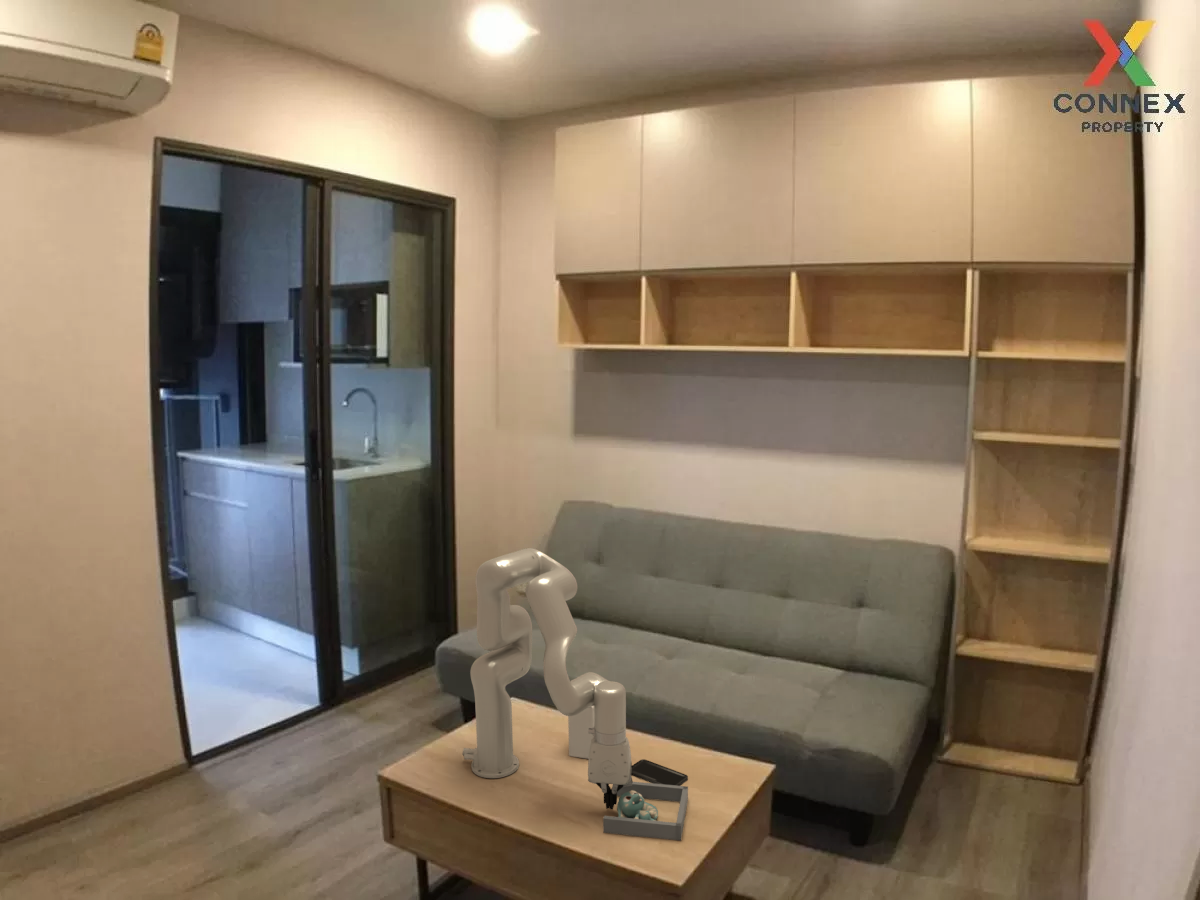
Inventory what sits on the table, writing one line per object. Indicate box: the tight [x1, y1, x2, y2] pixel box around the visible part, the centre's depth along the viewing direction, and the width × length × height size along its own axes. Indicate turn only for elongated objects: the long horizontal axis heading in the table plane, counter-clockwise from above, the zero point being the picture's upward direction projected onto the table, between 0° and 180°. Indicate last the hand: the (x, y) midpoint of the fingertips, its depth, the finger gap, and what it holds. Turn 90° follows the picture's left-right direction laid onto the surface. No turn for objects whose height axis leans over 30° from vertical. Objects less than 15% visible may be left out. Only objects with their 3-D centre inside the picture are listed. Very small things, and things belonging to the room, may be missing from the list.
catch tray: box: [602, 781, 689, 842], centre depth 206 cm, size 18×17×4 cm
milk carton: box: [567, 706, 594, 760], centre depth 237 cm, size 7×7×19 cm
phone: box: [631, 758, 689, 786], centre depth 225 cm, size 8×1×15 cm
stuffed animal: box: [616, 790, 659, 821], centre depth 204 cm, size 11×7×12 cm
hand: (610, 806), depth 208 cm, fingers closed
